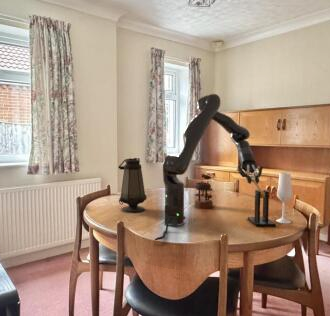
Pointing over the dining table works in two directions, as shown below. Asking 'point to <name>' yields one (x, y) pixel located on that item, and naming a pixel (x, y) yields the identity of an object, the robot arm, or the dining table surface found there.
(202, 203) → the dark brown tall piece
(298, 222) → the dining table surface
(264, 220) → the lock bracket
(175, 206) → the robot arm
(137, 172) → the lantern
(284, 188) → the champagne flute
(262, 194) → the latch lever
